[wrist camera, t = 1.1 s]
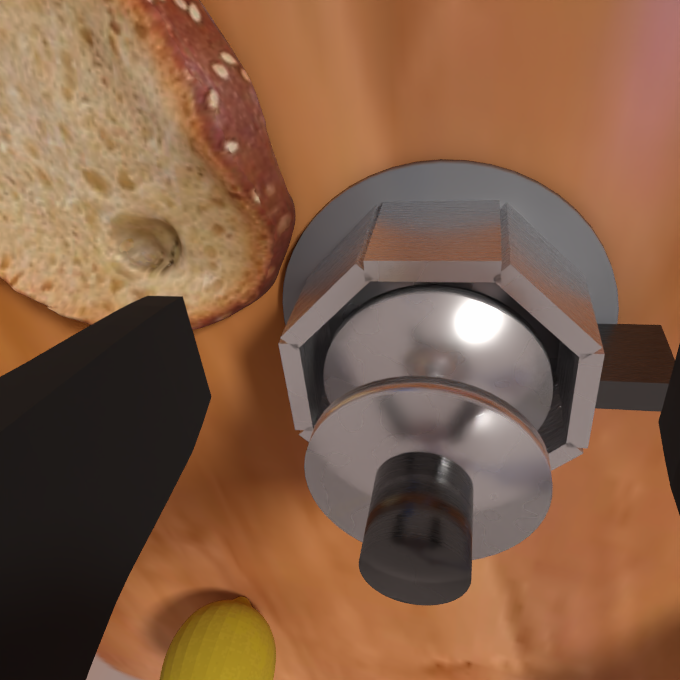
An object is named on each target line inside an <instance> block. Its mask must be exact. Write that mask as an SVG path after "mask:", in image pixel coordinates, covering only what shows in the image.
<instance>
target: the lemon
mask: <svg viewBox="0 0 680 680" xmlns="http://www.w3.org/2000/svg"><path fill="white" fill-rule="evenodd" d="M275 663H276V647H275V642H274V637H273V634H272V632H271V629H270V626H269V625H268V623H267V621H266V620H265V619H264V617H263V616H262V615H261V614H260V613H259V612H258V611H257V610H256V609H254V608H253V607H252V606H251V604H250V602H249V600H248V599H247V598H245V597H242V596H240V597H237V598H235V599H233V600H221V601H216V602H212V603H210V604H207V605H205V606H203V607H202V608H200V609H198V610H197V611H196V612H194V613H193V614H192V615H191V616H190V617H189V618H188V619H187V620H186V621H185V623H184V624H183V625H182V626H181V628H180V629H179V630H178V632H177V633H176V635H175V637H174V638H173V640H172V642H171V644H170V646H169V649H168V651H167V654H166V656H165V659H164V663H163V666H162V671H161V675H160V680H273V677H274V671H275Z"/></svg>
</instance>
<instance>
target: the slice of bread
mask: <svg viewBox="0 0 680 680" xmlns="http://www.w3.org/2000/svg"><path fill="white" fill-rule="evenodd" d="M294 225H295V208H294V203H293V200H292V198H291V196H290V194H289V192H288V190H287V188H286V185H285V182H284V179H283V177H282V175H281V172H280V170H279V167H278V164H277V161H276V158H275V155H274V152H273V149H272V146H271V143H270V140H269V136H268V133H267V130H266V122H265V119H264V116H263V113H262V110H261V107H260V104H259V101H258V98H257V95H256V92H255V90H254V87H253V85H252V82H251V80H250V78H249V76H248V74H247V73H246V71H245V69H244V68H243V66H242V65H241V63H240V61H239V60H238V58H237V57H236V55H235V53H234V52H233V50H232V49H231V47H230V46H229V44H228V42H227V41H226V39H225V38H224V36H223V35H222V33H221V32H220V30H219V29H218V27H217V26H216V24H215V23H214V21H213V20H212V18H211V17H210V15H209V14H208V12H207V11H206V9H205V7H204V6H203V4H202V3H201V1H200V0H0V278H2V279H3V280H4V281H6V282H7V283H8V284H9V285H10V286H11V287H12V288H13V289H14V290H15V291H16V292H18V293H20V294H23V295H25V296H27V297H29V298H31V299H33V300H35V301H37V302H39V303H42V304H44V305H46V306H48V307H49V308H48V309H50V310H52V311H54V312H56V313H57V314H59V315H61V316H64V317H67V318H71V319H74V320H78V321H81V322H84V323H88V324H91V325H92V324H94V323H95V322H97V321H99V320H101V319H102V318H104V317H106V316H108V315H110V314H111V313H113V312H115V311H117V310H119V309H121V308H122V307H124V306H126V305H128V304H130V303H132V302H134V301H136V300H139V299H141V298H143V297H146V296H183V299H184V302H185V306H186V309H187V313H188V316H189V320H190V323H191V327H192V330H193V329H198V328H202V327H205V326H208V325H211V324H213V323H216V322H218V321H221V320H223V319H225V318H227V317H229V316H231V315H233V314H234V313H236V312H238V311H239V310H241V309H243V308H245V307H246V306H248V305H250V304H251V303H253V302H255V301H256V300H258V299H259V298H260V297H261V296H263V295H264V294H265V293H266V292H267V291H268V290H269V289H270V288H271V286H272V285H273V284H274V282H275V280H276V278H277V276H278V273H279V270H280V267H281V264H282V262H283V260H284V257H285V254H286V252H287V249H288V246H289V243H290V240H291V237H292V233H293V229H294Z"/></svg>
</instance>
